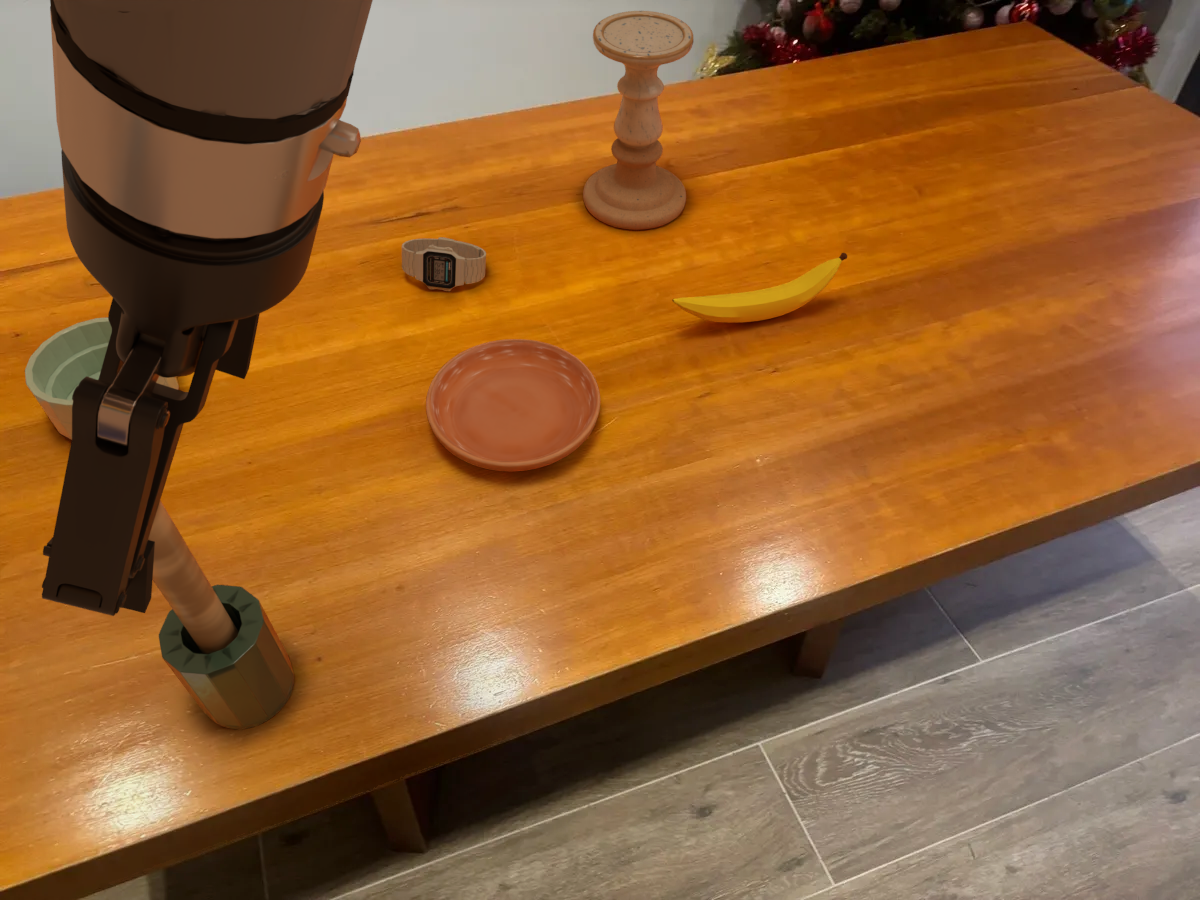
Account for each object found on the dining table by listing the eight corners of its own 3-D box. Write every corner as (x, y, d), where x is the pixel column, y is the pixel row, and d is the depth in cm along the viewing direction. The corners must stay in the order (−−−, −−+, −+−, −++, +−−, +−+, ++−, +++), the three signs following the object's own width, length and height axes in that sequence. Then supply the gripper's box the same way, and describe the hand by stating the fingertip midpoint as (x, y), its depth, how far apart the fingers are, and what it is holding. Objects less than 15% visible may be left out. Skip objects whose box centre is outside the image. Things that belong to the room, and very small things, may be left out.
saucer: (627, 392, 87) (628, 370, 85) (549, 510, 78) (548, 489, 76) (485, 340, 92) (483, 318, 89) (395, 446, 82) (390, 424, 80)
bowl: (60, 464, 80) (28, 420, 76) (51, 382, 87) (21, 336, 82) (189, 426, 84) (167, 381, 79) (172, 350, 90) (150, 304, 85)
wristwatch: (398, 289, 97) (391, 252, 93) (410, 253, 101) (403, 215, 97) (483, 294, 96) (479, 256, 92) (491, 257, 100) (488, 220, 97)
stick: (232, 705, 66) (96, 510, 47) (225, 675, 67) (92, 474, 49) (268, 691, 66) (148, 494, 48) (260, 662, 68) (142, 459, 49)
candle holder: (613, 242, 102) (619, 71, 87) (565, 186, 109) (563, 19, 94) (705, 214, 106) (726, 45, 91) (653, 161, 113) (664, -3, 98)
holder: (211, 744, 64) (167, 688, 57) (196, 666, 68) (152, 606, 61) (303, 707, 66) (271, 649, 59) (283, 634, 70) (251, 572, 63)
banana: (663, 327, 93) (668, 279, 89) (827, 292, 97) (840, 244, 93) (673, 346, 92) (678, 298, 87) (840, 309, 96) (853, 261, 91)
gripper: (177, 547, 22) (155, 742, 38) (410, -5, 36) (320, 312, 52) (-179, 450, 20) (-40, 701, 36) (217, -97, 34) (187, 264, 50)
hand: (173, 472), depth 44 cm, fingers open, 13 cm apart
